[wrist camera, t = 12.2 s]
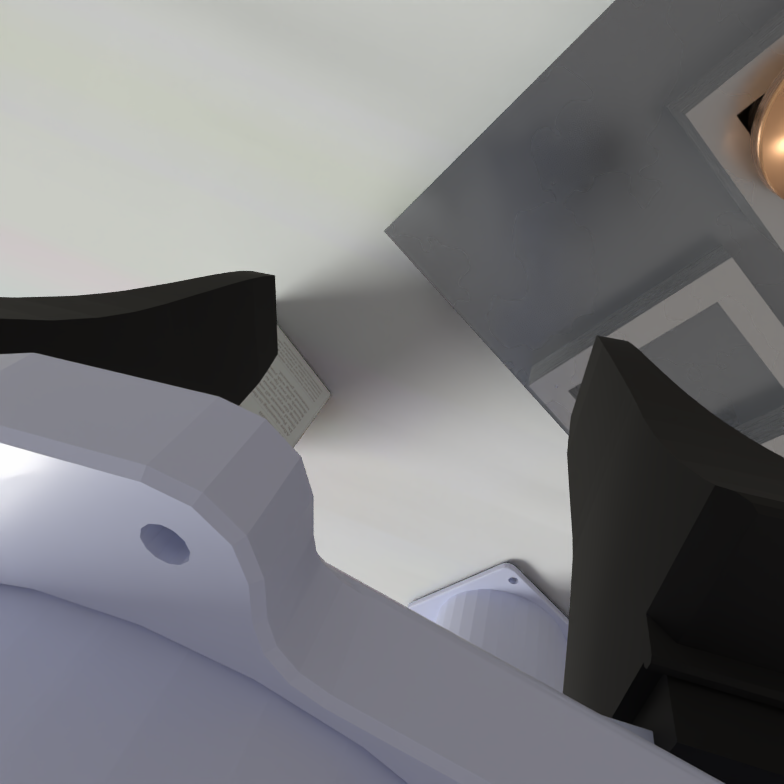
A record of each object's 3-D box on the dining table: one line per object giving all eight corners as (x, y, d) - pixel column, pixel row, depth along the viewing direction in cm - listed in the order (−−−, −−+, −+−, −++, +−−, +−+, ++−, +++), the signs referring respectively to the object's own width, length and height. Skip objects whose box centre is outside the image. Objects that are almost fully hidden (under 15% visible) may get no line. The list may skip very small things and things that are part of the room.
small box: (233, 449, 30) (97, 603, 22) (164, 371, 29) (-11, 503, 20) (336, 394, 26) (222, 556, 18) (264, 300, 25) (99, 427, 16)
